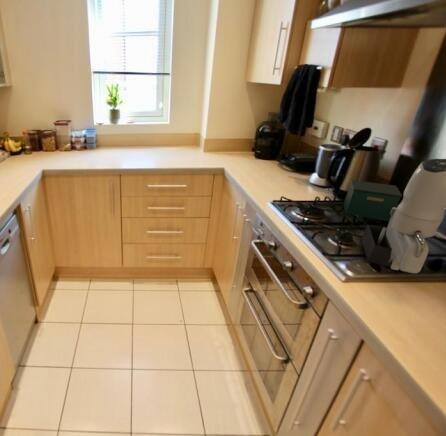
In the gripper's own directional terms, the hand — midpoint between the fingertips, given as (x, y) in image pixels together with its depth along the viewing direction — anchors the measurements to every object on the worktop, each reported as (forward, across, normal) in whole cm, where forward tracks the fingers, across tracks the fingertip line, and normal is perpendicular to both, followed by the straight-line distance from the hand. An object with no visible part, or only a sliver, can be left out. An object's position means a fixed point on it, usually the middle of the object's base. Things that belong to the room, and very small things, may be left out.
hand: (393, 266), depth 87 cm
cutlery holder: (+4, +12, 0) cm, 12 cm away
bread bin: (+4, +46, 0) cm, 46 cm away
